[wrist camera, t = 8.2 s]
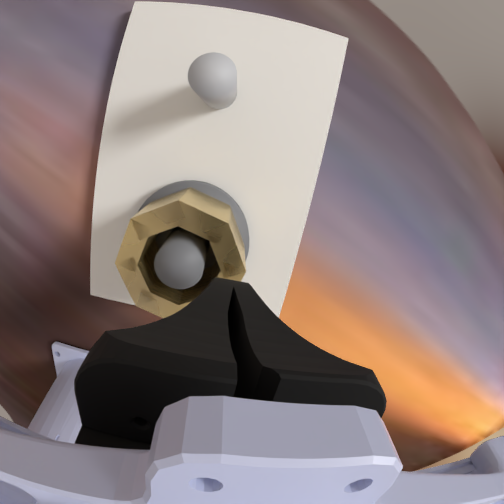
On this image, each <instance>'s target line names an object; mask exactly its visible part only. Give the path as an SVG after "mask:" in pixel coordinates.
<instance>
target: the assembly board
mask: <svg viewBox="0 0 504 504" xmlns="http://www.w3.org/2000/svg"><path fill="white" fill-rule="evenodd" d="M347 43H348V38H346V37H343V36H340V35H337V34H334V33H331V32H328V31H324V30H321V29H318V28H314V27H311V26H307V25H304V24H300V23H296V22H292V21H288V20H284V19H280V18H276V17H271V16H267V15H262V14H257V13H252V12H246V11H240V10H234V9H228V8H221V7H213V6H205V5H195V4H184V3H169V2H135V3H134V6H133V9H132V12H131V15H130V18H129V22H128V25H127V28H126V31H125V35H124V38H123V42H122V45H121V49H120V52H119V56H118V60H117V64H116V68H115V72H114V76H113V80H112V85H111V89H110V94H109V99H108V104H107V109H106V114H105V119H104V125H103V131H102V137H101V143H100V150H99V157H98V165H97V173H96V182H95V192H94V203H93V216H92V233H91V261H90V295H93V296H98V297H102V298H106V299H110V300H114V301H119V302H123V303H127V304H132V305H135V303H134V301H133V300H132V298H131V296H130V294H129V292H128V290H127V288H126V286H125V284H124V282H123V280H122V277H121V275H120V273H119V271H118V269H117V267H116V265H115V261H116V258H117V255H118V252H119V249H120V246H121V243H122V241H123V238H124V235H125V232H126V229H127V227H128V224H129V221H130V219H131V218H132V217H133V216H134V215H136V214H137V213H138V212H139V211H140V210H142V209H143V208H144V207H145V206H147V205H148V204H149V203H150V202H152V201H155V200H157V199H160V198H162V197H165V196H168V195H170V194H173V193H176V192H178V191H181V190H184V189H187V188H189V187H192V188H194V189H196V190H198V191H200V192H202V193H205V194H207V195H209V196H211V197H213V198H215V199H217V200H219V201H222V202H224V203H226V204H228V205H230V206H231V209H232V212H233V215H234V217H235V220H236V223H237V226H238V229H239V232H240V234H241V237H242V240H243V243H244V248H245V262H246V273H245V275H244V277H243V279H242V280H241V282H246V283H249V284H250V285H251V286H252V287H253V289H254V290H255V291H256V293H257V294H258V295H259V296H260V298H261V299H262V300H263V301H264V303H265V304H266V305H267V306H268V307H269V308H270V309H271V311H272V312H273V313H274V314H275V315H276V316H277V317H278V318H279V315H280V312H281V308H282V305H283V301H284V298H285V295H286V291H287V288H288V284H289V281H290V277H291V274H292V270H293V267H294V263H295V259H296V256H297V252H298V249H299V245H300V241H301V238H302V234H303V230H304V227H305V223H306V219H307V215H308V211H309V208H310V204H311V200H312V196H313V192H314V188H315V184H316V180H317V176H318V172H319V168H320V164H321V160H322V156H323V152H324V148H325V143H326V139H327V135H328V131H329V126H330V122H331V118H332V113H333V109H334V104H335V100H336V95H337V91H338V86H339V82H340V77H341V72H342V67H343V63H344V58H345V53H346V48H347ZM156 243H157V245H158V247H159V251H158V253H157V255H156V257H155V261H154V268H155V272H156V274H157V276H158V278H159V279H160V280H161V281H162V282H163V283H164V284H165V285H167V286H169V287H171V288H174V289H187V288H190V287H192V286H194V285H195V284H196V283H198V281H199V280H200V279H201V277H202V274H203V270H204V269H205V268H209V267H212V266H213V264H214V262H215V260H216V257H215V255H214V252H213V249H212V247H211V244H210V242H209V240H207V239H205V238H203V237H200V236H198V235H196V234H194V233H192V232H190V231H187V230H185V229H183V228H181V227H179V226H177V227H174V228H172V229H169V230H166V231H163V232H161V233H158V235H157V237H156Z"/></svg>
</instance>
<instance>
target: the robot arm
mask: <svg viewBox="0 0 504 504" xmlns="http://www.w3.org/2000/svg"><path fill="white" fill-rule="evenodd" d="M52 352H53V358H54V363H55V368H56V373H57V378H56V380H55V381H54V383H53V385H52V386H51V388H50V390H49V392H48V393H47V395H46V397H45V398H44V400H43V402H42V404H41V405H40V407H39V409H38V411H37V412H36V414H35V416H34V418H33V420H32V421H31V423H30V425H29V427H28V429H26V428H24V427H22V426H20V425H18V424H15V423H13V422H11V421H9V420H7V419H5V418H3V417H1V416H0V504H504V436H500V437H497V438H494V439H491V440H488V441H485V442H484V443H483V444H481V445H480V446H479V447H478V448H477V449H476V450H475V451H474V452H473V453H472V454H471V456H470V458H466V459H463V460H460V461H456V462H453V463H449V464H445V465H441V466H437V467H433V468H428V469H423V470H418V471H413V472H406V471H401V470H402V468H403V466H402V463H401V461H400V459H399V456H398V454H397V452H396V449H395V447H394V445H393V442H392V440H391V438H390V436H389V433H388V431H387V429H386V427H385V424H384V422H383V421H382V419H381V417H382V415H383V413H384V411H385V408H386V397H385V394H384V391H383V389H382V387H381V385H380V384H379V382H378V380H377V378H376V376H375V374H374V372H373V370H371V369H368V368H365V367H362V366H359V365H356V364H353V363H350V362H348V361H345V360H343V359H340V358H338V357H336V356H334V355H332V354H330V353H328V352H326V351H324V350H322V349H320V348H318V347H317V346H315V345H313V344H312V343H310V342H308V341H307V340H305V339H304V338H302V337H301V336H300V335H298V334H297V333H296V332H294V331H293V330H292V329H291V328H289V327H288V326H287V325H286V324H285V323H283V322H282V321H281V320H280V319H279V318H278V317H277V316H276V315H275V314H274V313H273V312H272V311H271V309H270V308H269V307H268V306H267V305H266V304H265V303H264V301H263V300H262V299H261V298H260V296H259V295H258V294H257V293H256V291H255V290H254V289H253V287H252V286H251V285H250V284H249V283H246V282H241V281H235V280H230V279H224V278H219V277H215V278H213V279H212V281H211V282H210V284H209V285H208V286H207V287H206V288H205V290H204V291H203V292H202V293H201V294H200V295H199V296H198V297H196V298H195V299H194V300H193V301H192V302H190V303H189V304H188V305H187V306H185V307H184V308H182V309H181V310H179V311H178V312H176V313H174V314H173V315H170V316H168V317H166V318H163V319H161V320H159V321H156V322H153V323H150V324H146V325H142V326H138V327H134V328H128V329H120V330H112V331H105V332H104V334H103V335H102V336H101V337H100V339H99V340H98V341H97V342H96V343H95V344H94V346H93V347H92V348H91V349H90V351H87V350H83V349H80V348H76V347H73V346H70V345H66V344H63V343H60V342H54V343H53V344H52ZM58 352H59V353H60V354H59V353H58Z"/></svg>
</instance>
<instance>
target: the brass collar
mask: <svg viewBox="0 0 504 504" xmlns="http://www.w3.org/2000/svg"><path fill="white" fill-rule="evenodd" d="M177 226H179V227H181V228H183V229H185V230H187V231H190V232H192V233H194V234H196V235H198V236H200V237H203V238H205V239H207V240H209V242H210V244H211V247H212V249H213V252H214V255H215V257H216V260H215V262H214V264H213V266H212V267H209V268H205V269H204V270H203V274H202V277H201V279H200V280H199V281H198V283H196V284H195V285H194V286H192V287H190V288H187V289H174V288H171V287H169V286H167V285H165V284H164V283H163V282H162V281H161V280H160V279H159V278H158V276H157V274H156V272H155V268H154V261H155V257H156V255H157V253H158V251H159V247H158V245H157V243H156V237H157V235H158V233H161V232H163V231H166V230H169V229H172V228H174V227H177ZM115 265H116V267H117V269H118V271H119V273H120V275H121V277H122V280H123V282H124V284H125V286H126V288H127V290H128V292H129V294H130V296H131V298H132V300H133V301H134V303H135V305H136V306H137V307H139V308H142V309H144V310H146V311H148V312H150V313H153V314H155V315H157V316H159V317H162V318H166V317H168V316H170V315H173V314H174V313H176V312H178V311H179V310H181V309H182V308H184V307H185V306H187V305H188V304H189V303H190V302H192V301H193V300H194V299H195V298H196V297H198V296H199V295H200V294H201V293H202V292H203V291H204V290H205V288H206V287H207V286H208V285H209V284H210V282H211V281H212V279H213V278H215V277H219V278H224V279H230V280H235V281H241V280H242V279H243V277H244V275H245V273H246V262H245V248H244V243H243V240H242V237H241V234H240V232H239V229H238V226H237V223H236V220H235V217H234V215H233V212H232V209H231V206H230V205H228V204H226V203H224V202H222V201H219V200H217V199H215V198H213V197H211V196H209V195H207V194H205V193H202V192H200V191H198V190H196V189H194V188H192V187H189V188H187V189H184V190H181V191H178V192H176V193H173V194H170V195H168V196H165V197H162V198H160V199H157V200H155V201H152V202H150V203H149V204H148V205H147V206H145V207H144V208H143V209H142V210H140V211H139V212H138V213H137V214H136V215H134V216H133V217H132V218H131V219H130V221H129V224H128V227H127V229H126V232H125V235H124V238H123V241H122V243H121V246H120V249H119V252H118V255H117V258H116V261H115Z"/></svg>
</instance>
